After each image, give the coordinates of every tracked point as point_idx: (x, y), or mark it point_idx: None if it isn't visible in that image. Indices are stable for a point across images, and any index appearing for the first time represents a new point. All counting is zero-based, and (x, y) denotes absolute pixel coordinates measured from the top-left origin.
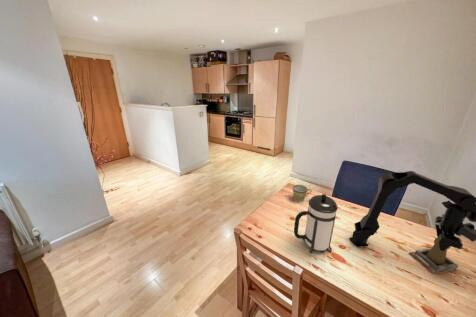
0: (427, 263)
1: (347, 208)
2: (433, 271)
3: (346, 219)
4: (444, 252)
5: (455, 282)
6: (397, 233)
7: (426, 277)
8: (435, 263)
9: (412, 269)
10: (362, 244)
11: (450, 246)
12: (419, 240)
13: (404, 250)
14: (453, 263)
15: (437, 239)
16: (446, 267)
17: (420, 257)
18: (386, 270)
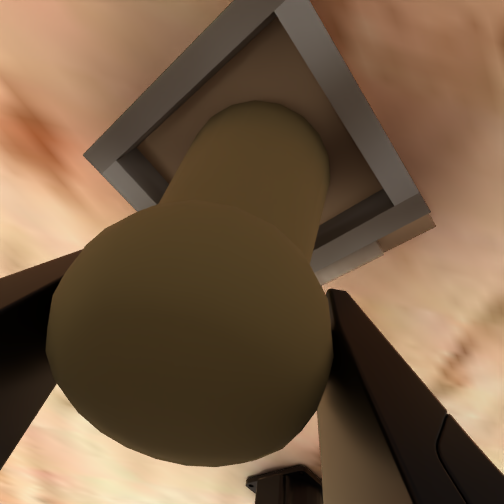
0: (363, 259)
1: (14, 476)
2: (423, 216)
3: (123, 492)
4: (302, 224)
5: (498, 38)
6: None
7: (491, 265)
8: None
9: (427, 325)
10: (321, 499)
11: (251, 247)
12: (3, 199)
13: None
14: (261, 8)
15: (192, 463)
16: (375, 117)
17: None
18: (485, 437)
